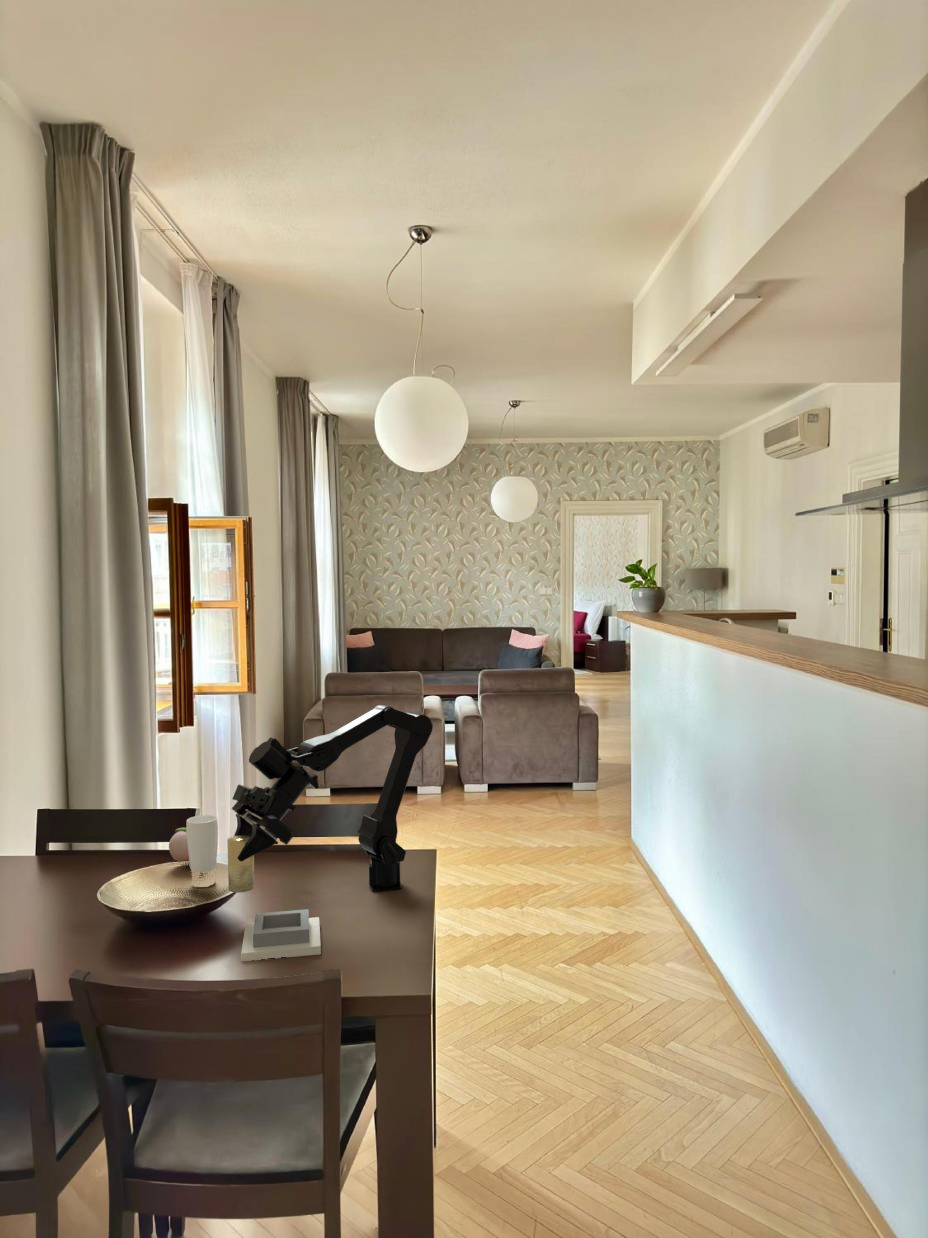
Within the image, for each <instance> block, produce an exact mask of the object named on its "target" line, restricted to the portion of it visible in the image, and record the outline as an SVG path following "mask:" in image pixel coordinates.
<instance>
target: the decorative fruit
mask: <svg viewBox="0 0 928 1238" xmlns="http://www.w3.org/2000/svg"><path fill="white" fill-rule="evenodd" d="M174 832H175V833H174V834H173V835H172V836H171V838H170V840H169V842H168V850H169V854H170V855H171V857H172V858H173V860H175V861H176V860H177V861H176V862H178V861H189V854H188V846H187V834H186V827H179V828H175V831H174Z"/></svg>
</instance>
